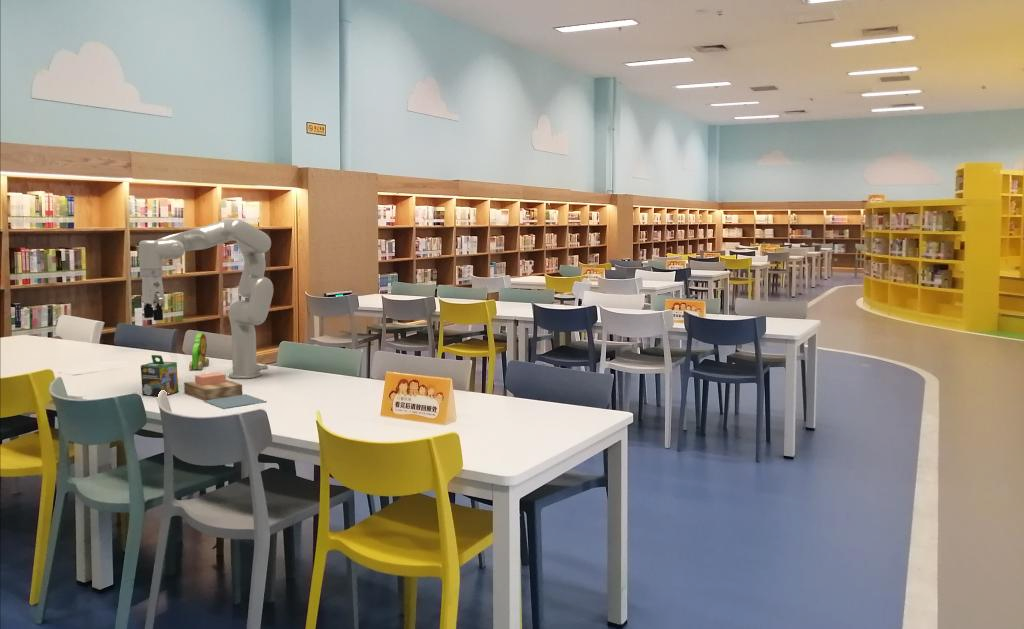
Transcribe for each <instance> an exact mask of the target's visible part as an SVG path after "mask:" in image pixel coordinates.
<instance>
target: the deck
mask: <svg viewBox="0 0 1024 629" xmlns="http://www.w3.org/2000/svg"><path fill="white" fill-rule="evenodd" d="M183 386H184V394H186V395H189V396H192V397H193V398H197V399H200V400H202V401H205V400H211V399H218V398H224V397H231V396H237V395H243V384H241V383H238V382H235V381H231V380H228V379H226V382H225V383H218V384H211V385H204V386H202V385H199V384H196V383H195V380H193V381H187V382H186V381H185V382H183Z"/></svg>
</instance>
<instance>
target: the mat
mask: <svg viewBox="0 0 1024 629" xmlns="http://www.w3.org/2000/svg"><path fill="white" fill-rule="evenodd" d="M202 401H203V403H206V404H209V405H212V406H213V407H214V406H215V407H216V408H217V407H218V408H219V409H223V410H225V409H226V410H227V409H233V408H238V407H245V406H250V404H252V405H256V404H255V403H258V404H260V403H259V402H263V401H264V399H261V398H258V397H255V396H252V395H249V394H245V393H244V394H242V395H237V396H231V397H224V398H218V399H211V400H202Z"/></svg>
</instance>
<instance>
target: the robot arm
mask: <svg viewBox="0 0 1024 629" xmlns="http://www.w3.org/2000/svg"><path fill="white" fill-rule="evenodd" d="M230 241H236V245H237V248H238V249H239V251H240V252H241V254H242V256H243V261H244V264H243V269H242V273H241V277H240V281H239V283H238V293H239V294H240V296H241V297H243V298H248V299H249V300H237V301H234V302H233V303H232V304H231V305H230V307H229V309H228V320H229V322H230V330H231V356H232V357H231V360H232V372H230V373H229V374H228V377H229V378H231V379H237V380H238V379H241V380H242V379H253V378H258V377H260V376H261V375H262V374H261V373H262V372H261V371H265V370H268V368H269V366H268V365H267V364H263V365H262V364H258V363H257V335H256V328H255V326H260V325H261V324H264V323H265V321H266V319H267V317H268V314H269V312H270V307H271V304H272V299H273V296H274V284H273V282H272V280H271V279H270V278H268V277H267V276H265V271H266V264H267V262H266V259H265V258H266V257H265V256H264V254H265V253H266V252H268V251H269V250H270V248H271V246H272V239H271V237H270V236H269V235H268V234H267V233H265V232H264V231H262V230H260V229H259V228H257V227H255V226H254V225H251V224H250V223H248V222H246V221H244V220H241V219H223V220H219V221H216V222H213V223H209V224H207V225H204V226H201V227H200V226H199V227H197V228H192V229H189V230H186V231H181V232H178V233H174V234H169V235H167V236H164V237H161V238H158V239H156V240H155V239H154V240H153V239H150V240H149V239H148V240H140V241H139V242H138V255H139V258H138V259H139V275H140V276H139V277H140V279H142V281H141V282H142V283H141V293H142V294H141V295H142V302H143V305H142V306H143V317H144V318H145V319H153V321H163V320H164V314H163V313H164V311H163V309H164V306H163V305H164V304H165V291H164V285H163V284H164V283H163V279H162V278H163V264H162V263H163V262H162V260H178V259H180V258H181V257H183V256H184V255H185V252H190V251H199V250H206V249H209V248H213V247H215V246H218V245H221V244H224V243H227V242H230Z"/></svg>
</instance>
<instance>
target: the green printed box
mask: <svg viewBox="0 0 1024 629" xmlns="http://www.w3.org/2000/svg"><path fill="white" fill-rule="evenodd" d="M150 357H151V360H152V362H148V363H145V364H141V365H140V377H141V378H140V379H141V390H142V391H141V393H142V394H148V395H147V396H149V395H155V396H154V397H158V394H159V392H160V391H161V390H165V391H166V392H167V394H168V393H169V395H171V394H175V393H179V378H178V365H177V364H178V363H177V362H176V361H164V360H163V355H158V354H151V355H150ZM156 359H159V361H158V360H156Z"/></svg>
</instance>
